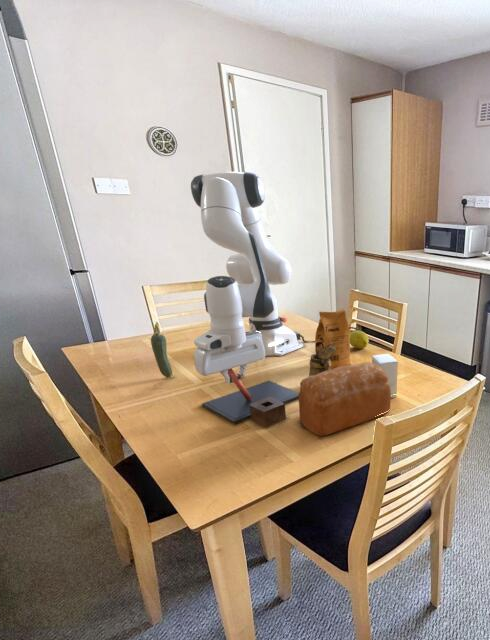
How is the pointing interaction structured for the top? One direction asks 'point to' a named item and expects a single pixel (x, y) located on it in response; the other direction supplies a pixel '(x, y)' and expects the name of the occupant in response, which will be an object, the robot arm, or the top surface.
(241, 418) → the tablet
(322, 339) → the coffee package
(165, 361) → the vegetable
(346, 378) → the bread
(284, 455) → the top surface
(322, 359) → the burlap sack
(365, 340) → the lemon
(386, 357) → the small box
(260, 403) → the holder
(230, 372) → the red rod
